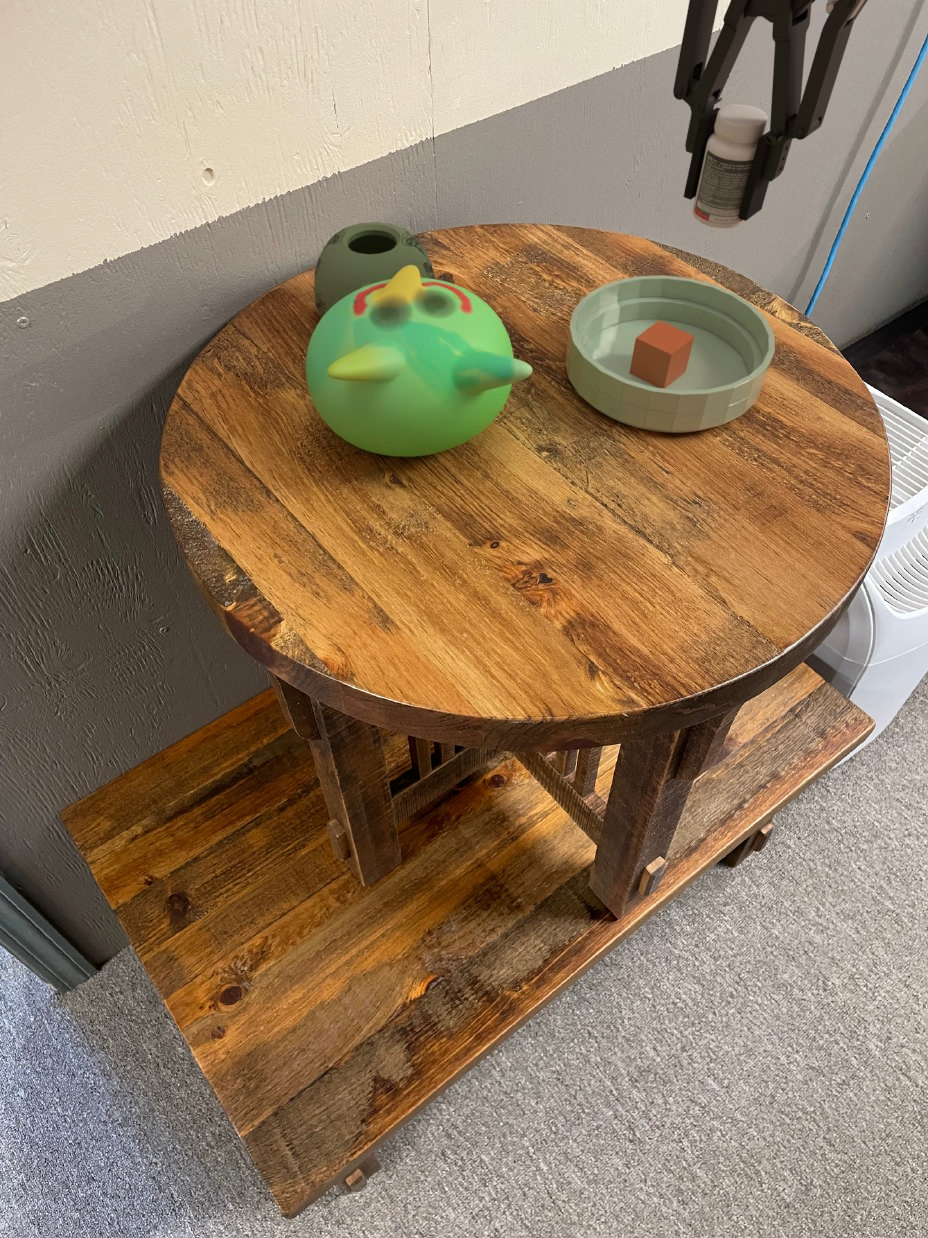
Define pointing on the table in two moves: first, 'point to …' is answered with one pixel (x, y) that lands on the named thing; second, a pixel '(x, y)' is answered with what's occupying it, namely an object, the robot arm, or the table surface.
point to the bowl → (718, 363)
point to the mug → (365, 260)
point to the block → (661, 354)
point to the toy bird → (410, 366)
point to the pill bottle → (728, 165)
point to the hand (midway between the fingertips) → (722, 202)
